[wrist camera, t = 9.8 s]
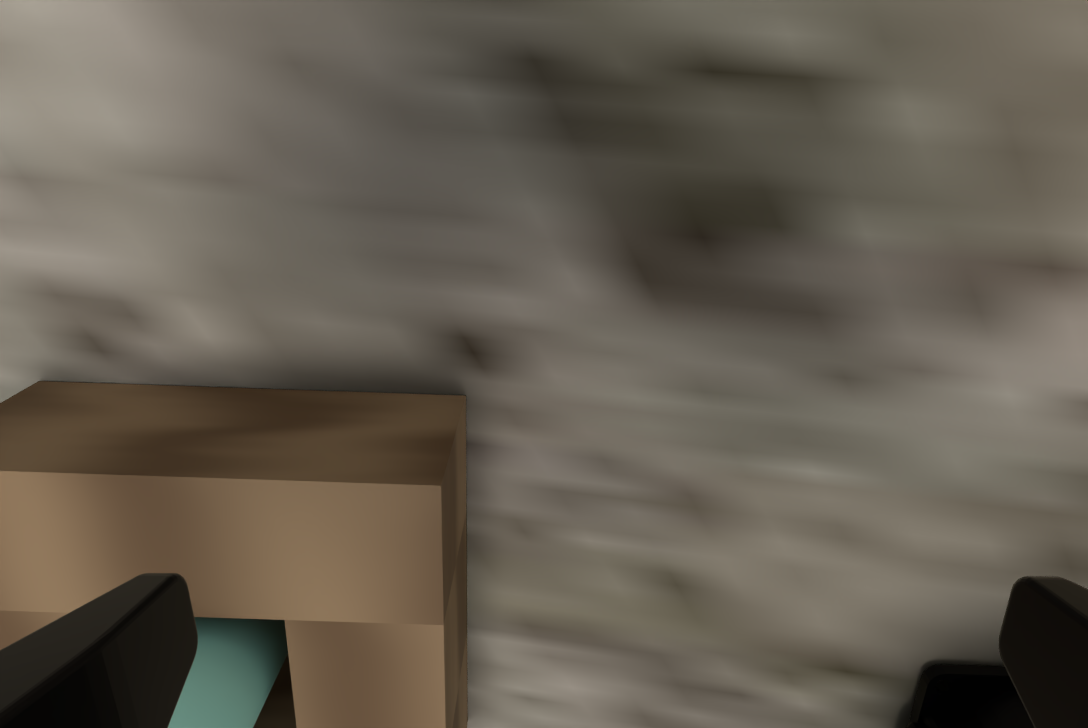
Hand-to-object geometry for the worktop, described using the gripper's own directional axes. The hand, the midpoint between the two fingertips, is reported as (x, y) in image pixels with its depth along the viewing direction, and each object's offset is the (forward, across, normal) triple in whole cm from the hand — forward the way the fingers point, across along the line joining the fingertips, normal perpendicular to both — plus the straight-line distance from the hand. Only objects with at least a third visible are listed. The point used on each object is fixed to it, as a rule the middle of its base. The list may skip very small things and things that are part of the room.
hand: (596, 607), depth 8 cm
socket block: (+12, +9, +9) cm, 18 cm away
